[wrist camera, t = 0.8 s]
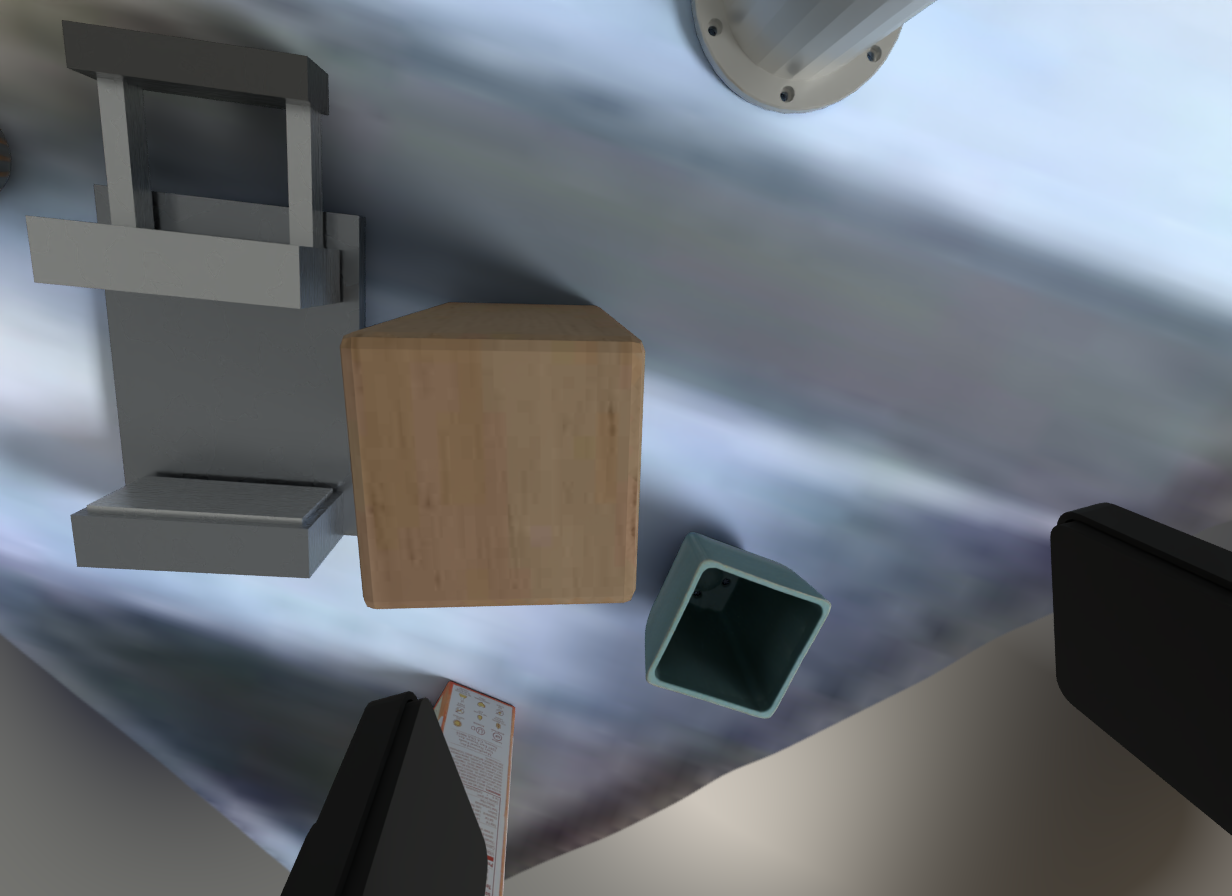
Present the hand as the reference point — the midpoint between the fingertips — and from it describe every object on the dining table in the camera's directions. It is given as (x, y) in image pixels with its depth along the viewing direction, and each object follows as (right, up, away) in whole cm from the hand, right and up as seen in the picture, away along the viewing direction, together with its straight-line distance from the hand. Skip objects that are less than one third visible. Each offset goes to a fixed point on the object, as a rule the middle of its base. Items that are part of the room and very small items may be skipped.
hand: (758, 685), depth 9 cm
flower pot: (+4, -6, +37) cm, 38 cm away
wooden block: (-8, +8, +32) cm, 34 cm away
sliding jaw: (-24, +18, +25) cm, 39 cm away
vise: (-25, +8, +30) cm, 40 cm away
